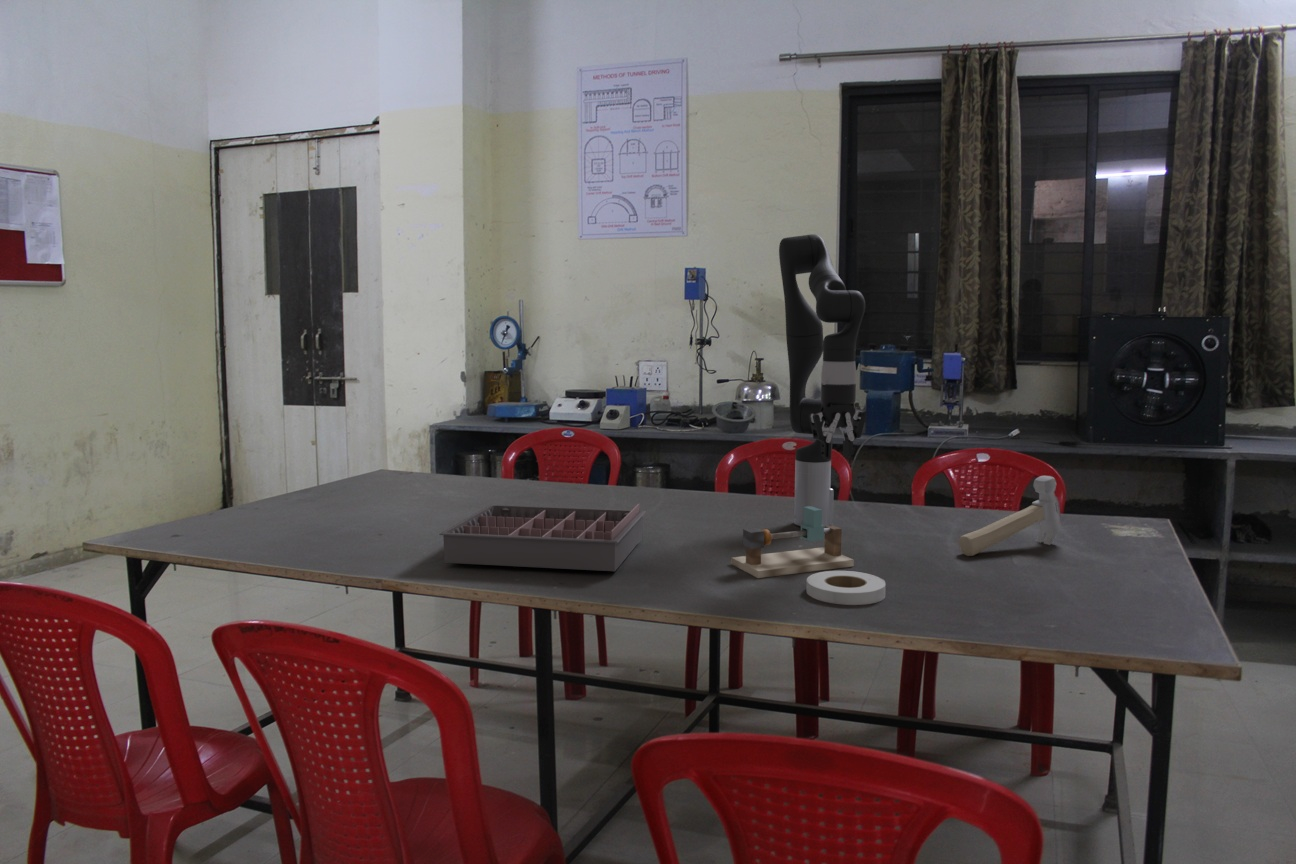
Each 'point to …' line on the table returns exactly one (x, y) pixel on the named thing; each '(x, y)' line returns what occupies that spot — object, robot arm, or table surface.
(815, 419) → the robot arm
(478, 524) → the organizer tray
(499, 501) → the table surface
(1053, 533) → the hammer
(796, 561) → the cable board
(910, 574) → the table surface
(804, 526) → the teal stepped block
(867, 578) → the roll of tape
